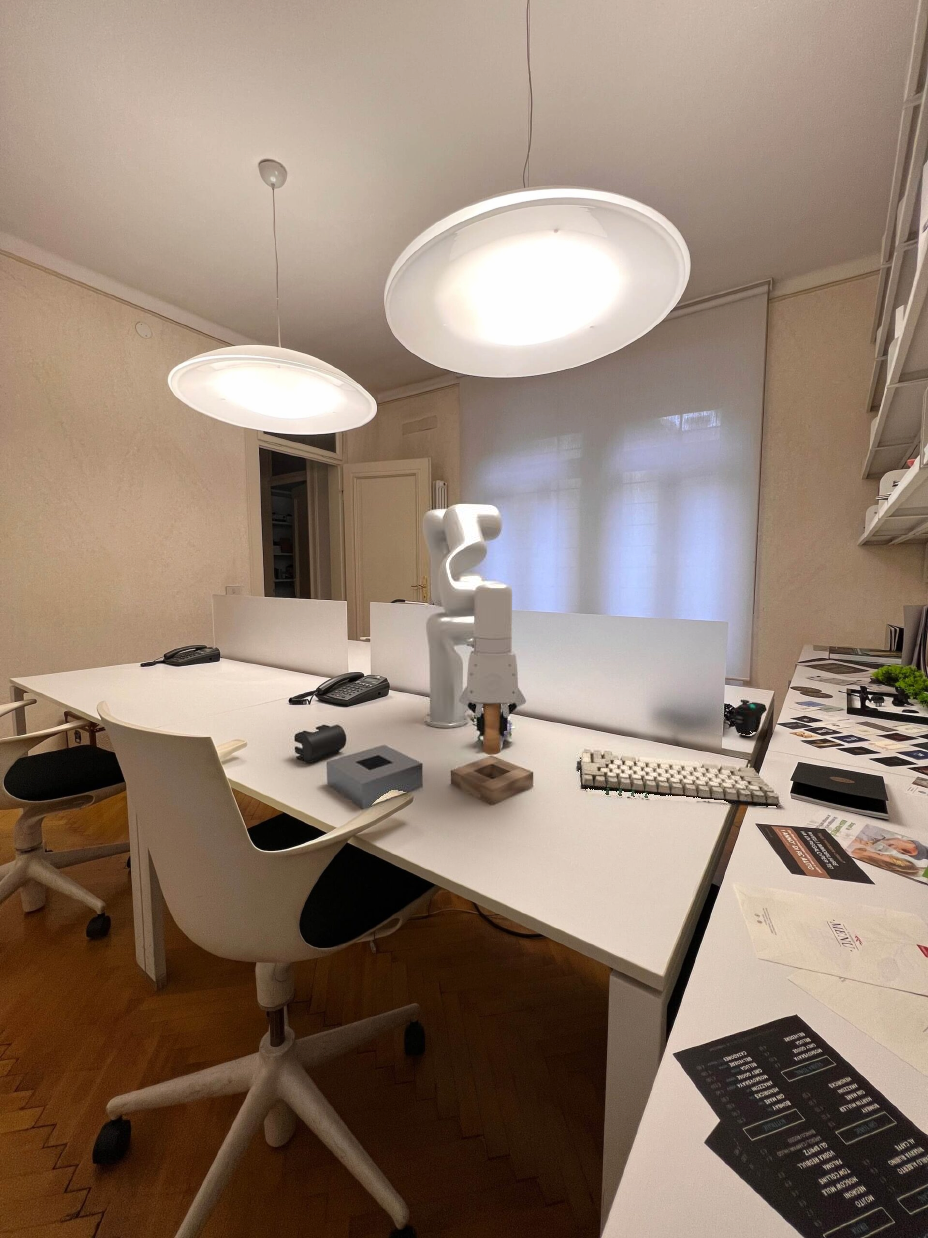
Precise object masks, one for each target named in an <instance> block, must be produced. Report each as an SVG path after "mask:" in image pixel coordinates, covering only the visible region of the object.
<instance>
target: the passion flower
mask: <svg viewBox="0 0 928 1238" xmlns="http://www.w3.org/2000/svg"><path fill="white" fill-rule="evenodd" d="M502 711H503V709H502V707H501V712H502ZM511 719H512V717H511V716H510V715H509V717H508V730H507V731H504V737H502V736H501V749H502V748H503V742H504V740H505V741H506V742H509V743H511V742H512V741H513V740H512V735H513V734H512V733H513V732H514V731H512V730H514V729H516V727H517V724H515V723H513V722H512V721H511ZM470 721H471V722H472V725H473V726H474V727H476V728H477V717H476V716H475V714H474V713H473V716H470ZM478 732H479V734H478V735H477V740H478V741H483V736H480V731H478Z"/></svg>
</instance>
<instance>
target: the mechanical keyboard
mask: <svg viewBox="0 0 928 1238" xmlns="http://www.w3.org/2000/svg"><path fill="white" fill-rule="evenodd" d="M579 758H580V759H581V760H577V761H576V768H575V770H576V769H577V770H576V772H577V771H578V772H579V770H580V774H579V782H581V785H580V790H581V789H585V790H586V789H588V788H589V789H590V790H591V789H592V790H593V789H594V790H602V791H603V790H604V791H606V793H605V794H606V795H609V791H616V792H617V791H619V793H618V795H619V796H622V794H621V793H622V791H624V792H632V793H631V796H633V797H635V796H634V793H635V794H636V793H637V794H638V793H639V794H641V793H642V794H643V793H646V794H645V796H644V797H645V798H648V796H647V794H648V795H649V794H654V795H660V796H666V795H668V796H669V795H670V796H671V795H672V796H686V797H693V798H695V797H696V798H697V797H698V798H701V799H714V800H724V801H726V802H728V803H729V804H728V805H737V806H748V807H757V806H766V807H765V808H767V807H768V806H776V807H777V805H778V804H779V805H780V804H781V802H780V799H779V798H780V796H779V794H778V793H777V792H775V790H774V788H772V787H771V786H770V785H769V784H768V783H767V782H765V781H764V779H763V778H761V775H760V774H759V773H758V772H757V771H756V770H755V768H754V767H743V766H739V768H737V767H736V766H734V765H725V764H721V766H719V767H718V765H717V764H713V763H702V765H701V764H700V763H699V762H696V761H686V760H674V759H664V758H654V757H642V756H641V757H638V759H637V760H636V758H635V756H629V755H628V756H627V755H622V756H621V758H619V756H618V755H617V754H613V753H612V751H610V750H604V751H603V754H602V752H601V750H597V749H596V750H595V749H594V750H593V751H591V749H586V748H584V749H583V750H582V752H581V756H579ZM636 762H637V763H636ZM578 772H577V773H578ZM585 790H584V791H585Z"/></svg>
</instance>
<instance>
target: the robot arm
mask: <svg viewBox="0 0 928 1238" xmlns="http://www.w3.org/2000/svg"><path fill="white" fill-rule="evenodd" d="M502 530H503V520H502V515H501V513H500V511H499V509H498V508H497V507H496V506H494V505H491V504H480V503H479V504H476V503H475V504H473V503H458V504H453V505H450V506H449V507H448V508H437V509H431V510H429V511H427V512H426V513H425V514H424V515H423V519H422V534H423V538H424V542H425V544H426V548H427V550H428V554H429V558H430V561H429V562H430V596H431V597H430V598H431V601H432V604H434V605H435V606H437V607H439V608H442V609H443V610H444V611H442V612H441V611H440V612H436V613H433V614H430V616H429V617H428V618H427V620H426V623H425V631H426V637H427V638H426V639H427V644H428V654H429V655H428V656H429V661H428V662H429V713H428V714H427V715H425V716H424V723H425V724H426V725H428V726H431V727H434V728H445V729H446V728H447V729H449V728H457V727H461V726H464V725H466V724H468V722H469V716H468V715H467V714H466V713H468V712H469V711H471V712H472V713H473V715H474V714H475V716H476V717H477V727H476V731H477V732H479V731H480V732H479V734H480V736H483V727H484V716H483V703H484V704H501V708H502V712H501V732H500V735H501V736H502V737H504V731H507V730H508V717H509V716H510V715H511V714H512V713H513V712H514V711H516V709H517V708H520V707H521V706H523V705H525V704H526V703H527V699H526V697H525V696H524V694H523V692H522V691H521V689H520V687H519V673H518V672H519V671H518V662H517V655H516V653H515V652H514V651H512V645H513V644H512V643H513V641H512V639H513V637H512V635H513V631H512V630H513V628H512V625H513V623H512V621H513V590H512V587H511V586H510V585H509V584H506V583H502V582H501V581H496V580H486V579H485V578H484V576H483V575H481V574H479V573H472V572H468V573H463V572H467V571H469V570H470V569H472V568H475V567H477V566H479V565H480V564H481V563H482V562H483V561H484V560H485V558H486V557H487V553H488V548H487V543H486V542H488V541H489V542H490V541H494V540H496V539H498V538H499V536H500V535H501V533H502ZM457 646H466V647H471V648H472V649H473V650H471V651H470V653H469V658H468V661H467V662H468V663H467V676H466V686H465V688H464V677H463V676H464V662H463V658H462V657H461V655H460V654H459V653H458V651H457V650H456V649H455V647H457Z"/></svg>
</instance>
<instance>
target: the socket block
mask: <svg viewBox="0 0 928 1238" xmlns="http://www.w3.org/2000/svg"><path fill="white" fill-rule="evenodd" d="M423 774H424V772H423V762H421V761H418V760H416V759H415V758H412V757H410V756H409V755H407V754H404V753H403V752H400V751H398V750H395V749H394V748H392V747H390V746H387V745H385V744H382V745H379V746H375V747H372V748H367V749H365V750H361V751H358V752H354V753H351V754H348V755H345V756H344V755H343V756H340V757H337V758H334V759H330V760H327V761H326V780H327V781H326V783H327V786H329V787H330V788H331V789H333V790H334V791H336V792H337V793H339V794H341V795H342V796H343V797H345V798H346V799H347V800H349V801H350V802H352V803H353V804H354V805H356V806H358V807H359V808H361V809H362V810H364V809H367V808H370V807H372V806H371V805H372V804H373V803H374V802H375V801H376V800H377V799H379V798H380V797H381V796H383V795H384V794H386V793H388V792H389V791H391V790H398V791H403V792H407V793H410V792H414V791H415V790H419V789H421V788H423V785H424V784H423V783H424V782H423V781H424V780H423V779H424V778H423V777H424V776H423ZM369 806H370V807H369Z"/></svg>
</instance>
